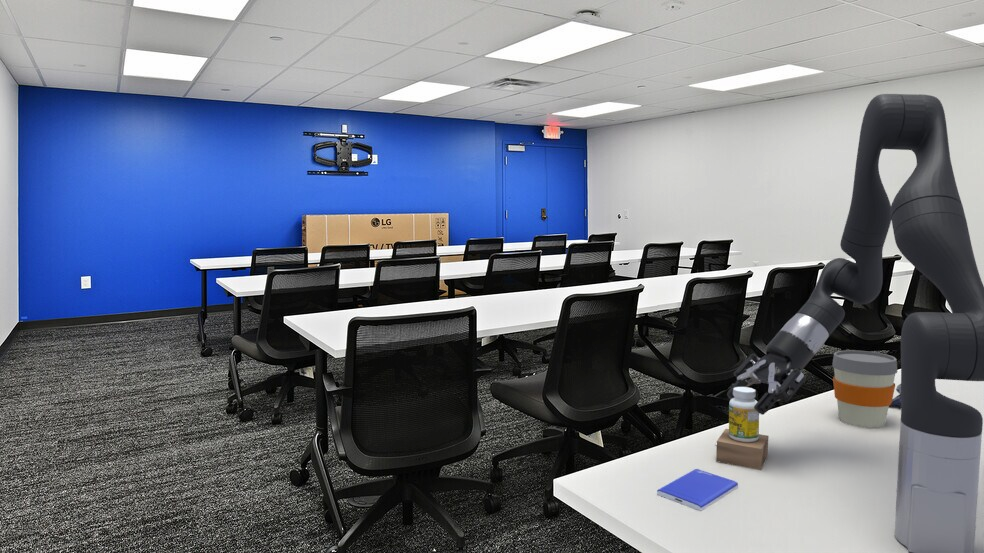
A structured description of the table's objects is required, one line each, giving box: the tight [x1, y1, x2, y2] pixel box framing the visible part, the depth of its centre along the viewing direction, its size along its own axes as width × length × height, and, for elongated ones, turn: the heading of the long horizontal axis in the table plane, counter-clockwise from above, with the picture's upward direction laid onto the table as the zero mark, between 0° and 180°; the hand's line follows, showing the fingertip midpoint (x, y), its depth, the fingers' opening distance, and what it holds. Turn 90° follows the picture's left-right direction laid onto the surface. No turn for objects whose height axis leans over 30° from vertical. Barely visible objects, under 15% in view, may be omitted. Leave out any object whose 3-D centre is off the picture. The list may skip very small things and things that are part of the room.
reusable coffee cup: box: [831, 349, 898, 429], centre depth 139 cm, size 13×13×15 cm
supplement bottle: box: [728, 386, 760, 442], centre depth 118 cm, size 5×5×10 cm
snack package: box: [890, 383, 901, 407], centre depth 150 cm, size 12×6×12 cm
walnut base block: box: [715, 428, 769, 471], centre depth 119 cm, size 8×8×4 cm
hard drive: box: [656, 468, 739, 512], centre depth 105 cm, size 2×8×12 cm
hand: (743, 404), depth 118 cm, fingers open, 8 cm apart
